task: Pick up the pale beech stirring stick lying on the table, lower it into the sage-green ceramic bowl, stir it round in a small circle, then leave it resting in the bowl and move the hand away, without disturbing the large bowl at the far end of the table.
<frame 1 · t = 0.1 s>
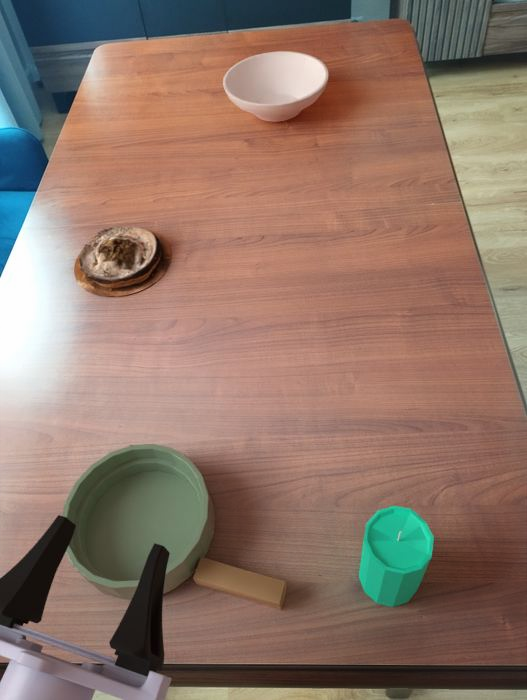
hand: (113, 533, 42), 21 cm above the table, tool horizontal, fingers open, 7 cm apart
bowl: (277, 112, 113), on the table
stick: (241, 586, 59), on the table
mixing bowl: (146, 528, 64), on the table
candle: (388, 576, 59), on the table
brown mottled round dish: (123, 262, 90), on the table
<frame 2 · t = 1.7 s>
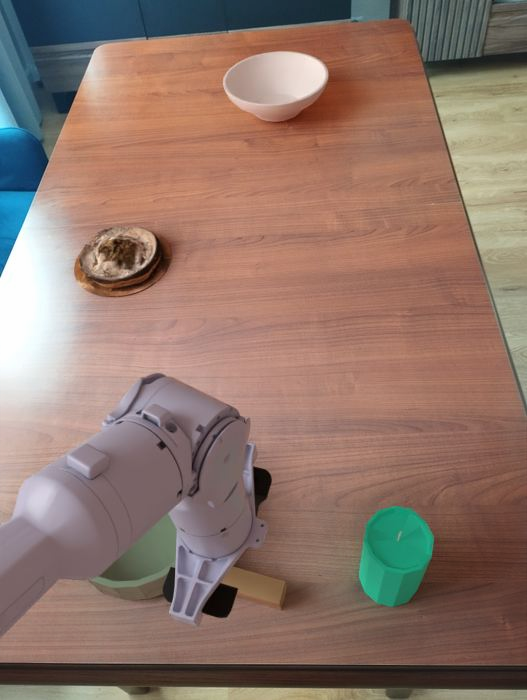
hand: (231, 559, 53), 8 cm above the table, tool pointing down, fingers open, 7 cm apart
nothing on the table moved.
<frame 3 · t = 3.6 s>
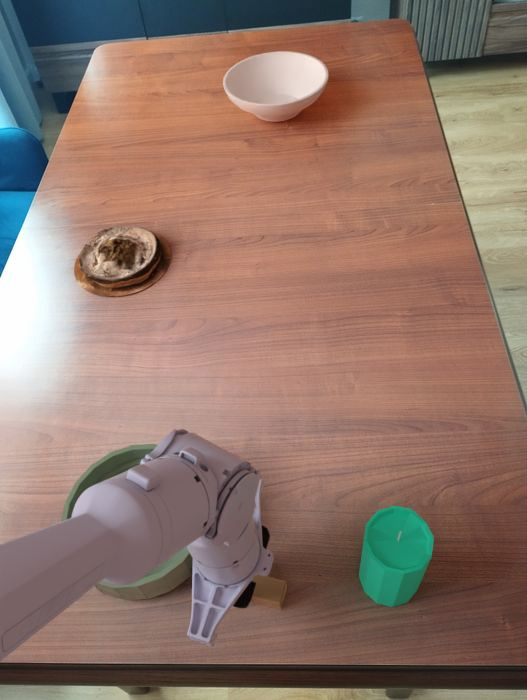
hand: (239, 582, 58), 1 cm above the table, tool pointing down, fingers closed on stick, 2 cm apart
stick: (241, 586, 59), on the table, touching gripper
everything else where it was.
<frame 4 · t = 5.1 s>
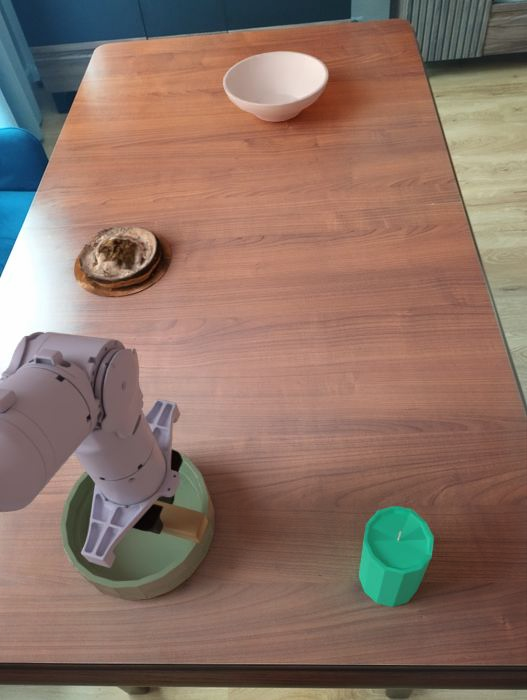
hand: (157, 514, 56), 8 cm above the table, tool pointing down, fingers closed on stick, 2 cm apart
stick: (161, 520, 57), point 7 cm above the table, touching gripper
everything else where it was.
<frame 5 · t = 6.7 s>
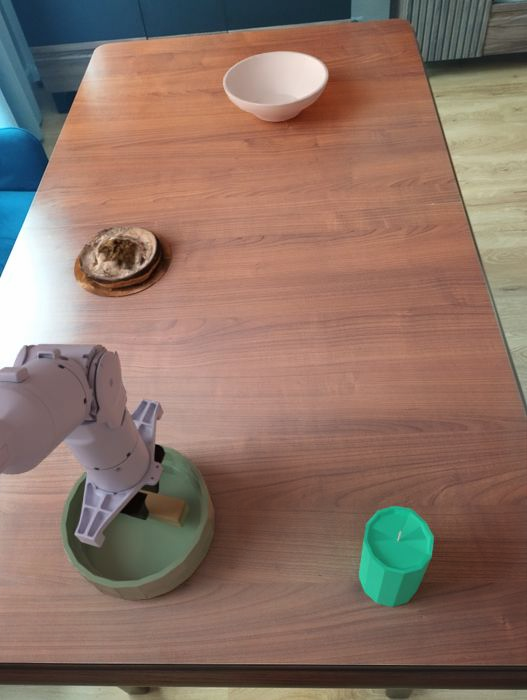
hand: (144, 503, 62), 3 cm above the table, tool pointing down, fingers closed on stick, 2 cm apart
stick: (147, 508, 63), point 2 cm above the table, touching gripper
everything else where it was.
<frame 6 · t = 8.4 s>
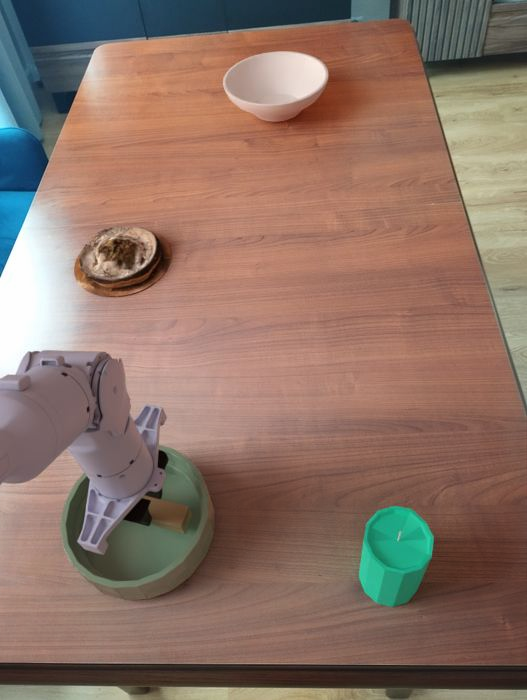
hand: (147, 508, 61), 3 cm above the table, tool pointing down, fingers closed on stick, 2 cm apart
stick: (150, 514, 63), point 2 cm above the table, touching gripper
everything else where it was.
when the fingers open (2 cm above the table, at t = 9.8 s): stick stays where it is, resting on mixing bowl.
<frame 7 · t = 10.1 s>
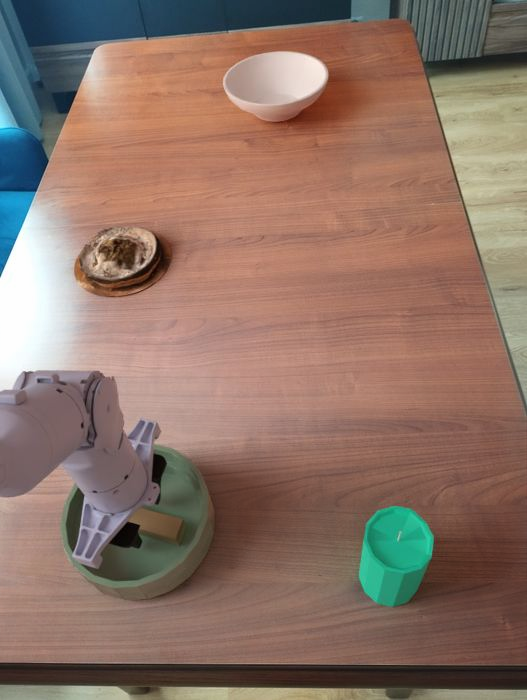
hand: (141, 521, 62), 2 cm above the table, tool pointing down, fingers open, 4 cm apart
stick: (145, 525, 63), point 1 cm above the table, touching mixing bowl
everything else where it was.
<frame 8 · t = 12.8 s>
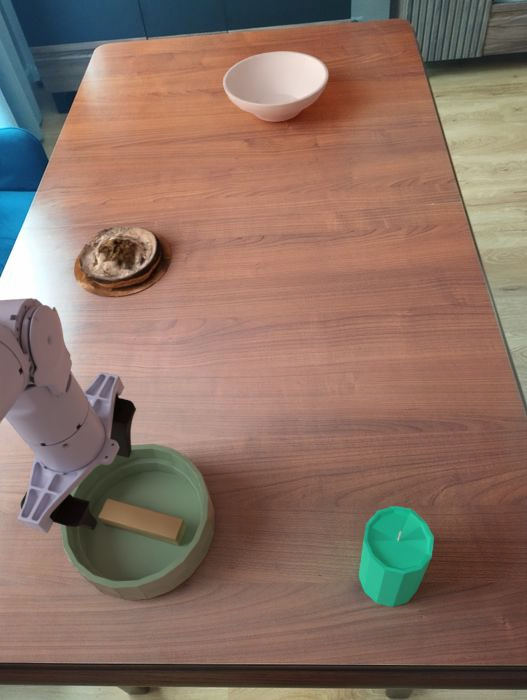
hand: (104, 487, 57), 9 cm above the table, tool pointing down, fingers open, 7 cm apart
nothing on the table moved.
at the end: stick inside the target area in the mixing bowl (0.0 cm from its centre), point 0.6 cm above the mixing bowl's base; the gripper is holding nothing; bowl moved 0.2 cm from its start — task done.
